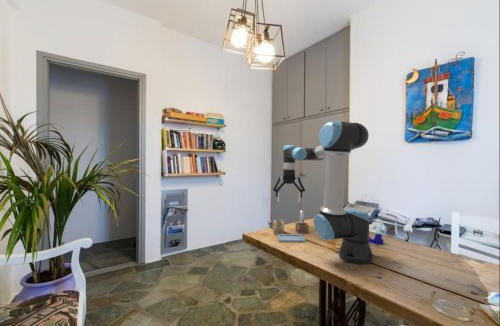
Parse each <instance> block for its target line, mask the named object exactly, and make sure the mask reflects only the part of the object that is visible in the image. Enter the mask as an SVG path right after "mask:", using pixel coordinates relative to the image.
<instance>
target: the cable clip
mask: <svg viewBox="0 0 500 326" xmlns="http://www.w3.org/2000/svg"><path fill="white" fill-rule="evenodd" d="M369 243H371V244H373V245H376V246H379V245H383V244H384V239H383V238H382V233H375V234H374V238H373V239H372V237H370V236H369Z"/></svg>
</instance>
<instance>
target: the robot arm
mask: <svg viewBox="0 0 500 326" xmlns="http://www.w3.org/2000/svg"><path fill="white" fill-rule="evenodd" d="M369 136H370V135H369V130H368V129H367V127H366V126H365V125H364V124H361V123H359V122H348V121H340V120H339V121H328V122H326V123H325V124H324V125H323V126H322V127H321V129H320V131H319V134H318V142H319V145H318V146H316V147H300V146H299V147H296V146H295V145H294V144H293V145H292V144H288V145H287V144H286V145H284V146H283V151H282V152H283V154H282V155H283V164H282V165H283V166H282V167H283V170H282V172H283V174H282V176H278V178H277V181H276V183H275V185H274V186H273V191H274V192H275V197H276V198H277V203H279V202H280V190H281V188H283V186H284V185H285V184H286V185H289V184H290V185H292V184H293V185H294V186H295V188H296V189H297V190H298V204H299V203H301V198H303V192H305V191H306V189H305V187H304V186H303V183H302V180H301V177H300V176H296V161H324V160H325V159H326V165H325V175H324V177H325V179H324V194H323V205H321V206H322V207H321V208H320V207H319V213H318V214H316V215H314V217H313V227H314V229H315V232H316V234H317V235H318V236H319V238H320V239H322V240H324V241H326V240H327V241H328V240H331V241H332V240H339V239H342V241H341V244H340V247H339V249H338V256H339V258H340V259H342V260H343V261H345V262H349V263H352V264H359V265H366V264H371V263H373V262H374V255H373V251H372V248H371V246H370V242H369V237H370V215H369V214H368V212H366V211H364V210H361V209H360V210H358V209H354V208H344V200H345V199H344V198H345V196H344V195H345V189H346V188H345V187H346V172H347V161H348V156H349V155H350V154H351V153H352V150H353V151H354V150H356V149H359V148H362V147H363V146H365V145H366V144H367V143H368V140H369ZM282 180H283V181H282ZM281 181H282V183H281ZM295 181H297V182H298V183H299V185H298V184H297V183H296V182H295ZM279 183H281V184H280V185H279ZM278 185H279V186H278ZM300 187H301V188H300Z"/></svg>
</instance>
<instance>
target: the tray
mask: <svg viewBox="0 0 500 326" xmlns="http://www.w3.org/2000/svg"><path fill="white" fill-rule="evenodd" d="M276 238H277V239H278V243H306V242H307V241H306V239H305V236H303V234H302V233H294V234H293V233H291V234H290V233H289V234H288V233H284V234H277V235H276Z"/></svg>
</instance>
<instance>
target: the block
mask: <svg viewBox="0 0 500 326" xmlns="http://www.w3.org/2000/svg"><path fill="white" fill-rule="evenodd" d="M272 224H273V226H272V227H273V235H274V236H277V234H285V222H284V220H282V219H281V220H280V219H279V220H278V219H273V223H272Z"/></svg>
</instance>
